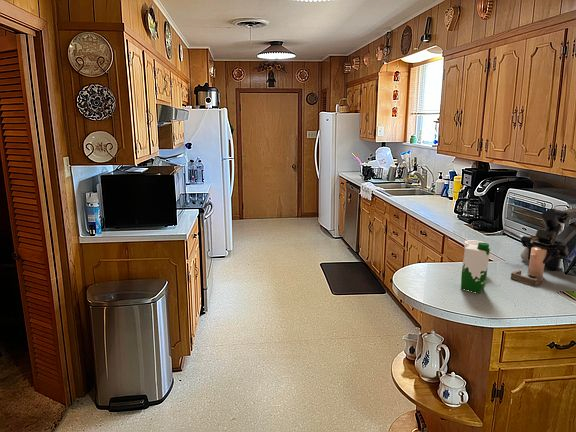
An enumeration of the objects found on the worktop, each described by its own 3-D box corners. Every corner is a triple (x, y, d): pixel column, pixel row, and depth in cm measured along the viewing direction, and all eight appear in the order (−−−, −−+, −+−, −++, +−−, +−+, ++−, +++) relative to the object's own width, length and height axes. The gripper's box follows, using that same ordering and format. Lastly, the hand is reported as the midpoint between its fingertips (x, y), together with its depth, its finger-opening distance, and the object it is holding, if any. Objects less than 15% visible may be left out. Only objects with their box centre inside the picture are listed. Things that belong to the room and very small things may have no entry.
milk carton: (480, 295, 172) (486, 247, 168) (457, 289, 178) (463, 243, 173) (486, 289, 179) (493, 242, 174) (464, 283, 185) (469, 238, 180)
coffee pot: (546, 261, 215) (551, 232, 211) (546, 268, 205) (551, 237, 201) (498, 253, 225) (502, 225, 222) (496, 259, 215) (500, 230, 212)
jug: (531, 271, 198) (535, 246, 195) (545, 275, 194) (549, 249, 191) (522, 275, 193) (526, 249, 190) (536, 279, 189) (540, 253, 186)
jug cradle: (518, 274, 195) (519, 269, 195) (542, 281, 188) (542, 276, 187) (510, 278, 191) (511, 273, 190) (534, 285, 183) (535, 280, 183)
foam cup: (470, 274, 195) (473, 246, 192) (457, 267, 204) (460, 240, 201) (488, 272, 198) (491, 245, 195) (474, 265, 206) (477, 239, 203)
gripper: (525, 218, 198) (510, 246, 194) (570, 227, 184) (555, 257, 180) (530, 232, 205) (516, 259, 201) (574, 242, 190) (560, 271, 186)
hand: (535, 261), depth 192 cm, fingers closed on jug, 6 cm apart
